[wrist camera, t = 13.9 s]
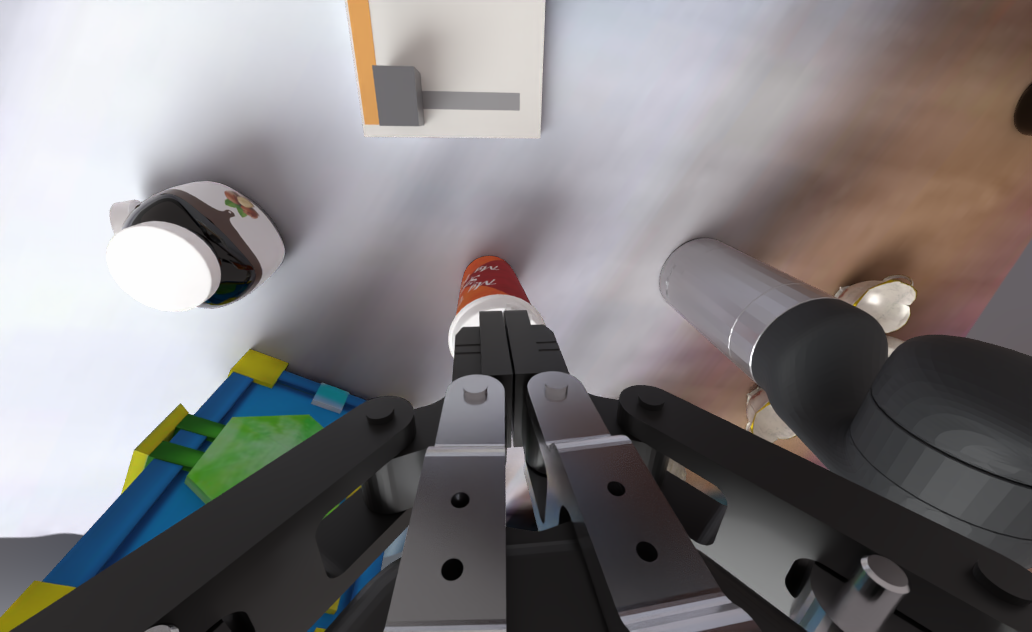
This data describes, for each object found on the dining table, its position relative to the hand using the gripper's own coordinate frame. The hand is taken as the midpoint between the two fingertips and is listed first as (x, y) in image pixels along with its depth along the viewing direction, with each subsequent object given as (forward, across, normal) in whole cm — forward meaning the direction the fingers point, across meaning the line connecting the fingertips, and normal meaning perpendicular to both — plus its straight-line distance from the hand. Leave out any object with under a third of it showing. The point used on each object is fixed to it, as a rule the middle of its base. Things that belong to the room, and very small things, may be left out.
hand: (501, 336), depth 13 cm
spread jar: (+31, +26, +5) cm, 41 cm away
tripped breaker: (+29, +6, -8) cm, 31 cm away
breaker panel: (+31, +2, -13) cm, 34 cm away
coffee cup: (+32, -1, +10) cm, 33 cm away
